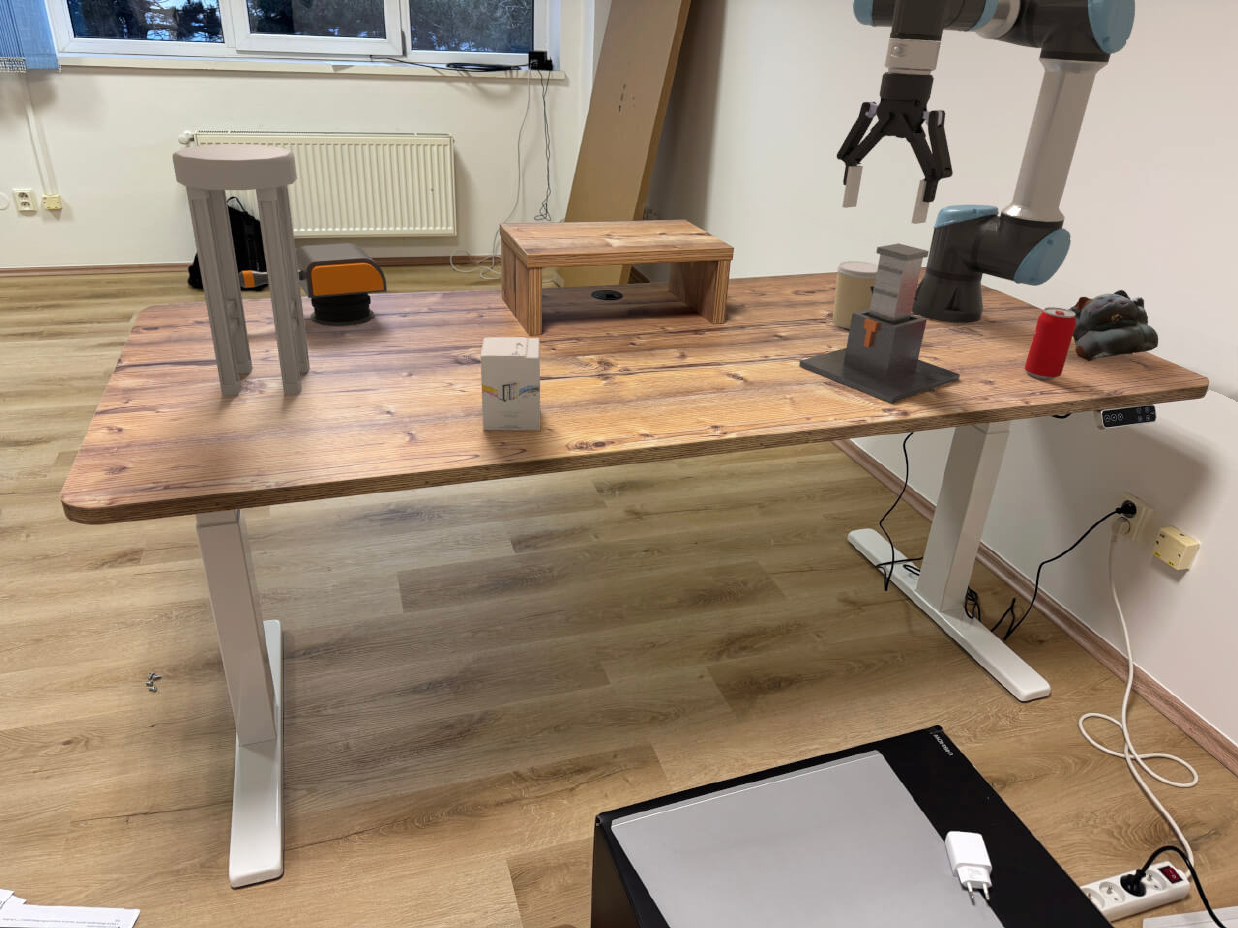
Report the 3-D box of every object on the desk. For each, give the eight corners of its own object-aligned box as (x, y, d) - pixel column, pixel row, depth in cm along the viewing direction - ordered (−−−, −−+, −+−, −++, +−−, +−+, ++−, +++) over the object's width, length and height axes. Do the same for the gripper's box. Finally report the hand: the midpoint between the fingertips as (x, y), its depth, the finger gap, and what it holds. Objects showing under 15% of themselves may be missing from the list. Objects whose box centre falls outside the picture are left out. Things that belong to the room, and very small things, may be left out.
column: (876, 358, 159) (898, 243, 150) (903, 368, 155) (928, 251, 146) (855, 364, 156) (877, 247, 146) (883, 374, 152) (907, 255, 142)
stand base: (867, 346, 169) (877, 293, 164) (958, 379, 155) (972, 323, 150) (799, 365, 157) (807, 309, 152) (891, 403, 144) (903, 343, 139)
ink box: (484, 407, 134) (482, 335, 129) (539, 408, 135) (540, 336, 130) (481, 431, 127) (479, 355, 121) (539, 431, 127) (540, 356, 122)
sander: (241, 314, 167) (231, 248, 162) (372, 302, 178) (367, 240, 172) (251, 338, 156) (241, 268, 150) (390, 324, 167) (385, 258, 161)
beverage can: (1058, 372, 161) (1077, 309, 156) (1061, 383, 156) (1081, 319, 150) (1022, 366, 163) (1039, 304, 157) (1024, 377, 158) (1042, 313, 152)
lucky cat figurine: (1074, 362, 166) (1067, 289, 166) (1067, 367, 177) (1061, 299, 178) (1164, 352, 161) (1158, 277, 161) (1152, 358, 172) (1145, 288, 172)
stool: (324, 363, 147) (299, 145, 131) (311, 399, 134) (282, 161, 118) (227, 364, 144) (189, 142, 128) (204, 401, 131) (159, 158, 115)
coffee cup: (875, 333, 176) (886, 274, 171) (828, 328, 178) (838, 270, 172) (872, 319, 185) (883, 263, 179) (828, 314, 186) (837, 259, 181)
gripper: (828, 65, 138) (808, 202, 148) (969, 78, 121) (936, 232, 131) (858, 66, 142) (836, 199, 152) (997, 79, 125) (963, 227, 135)
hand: (882, 214), depth 141 cm, fingers open, 13 cm apart
